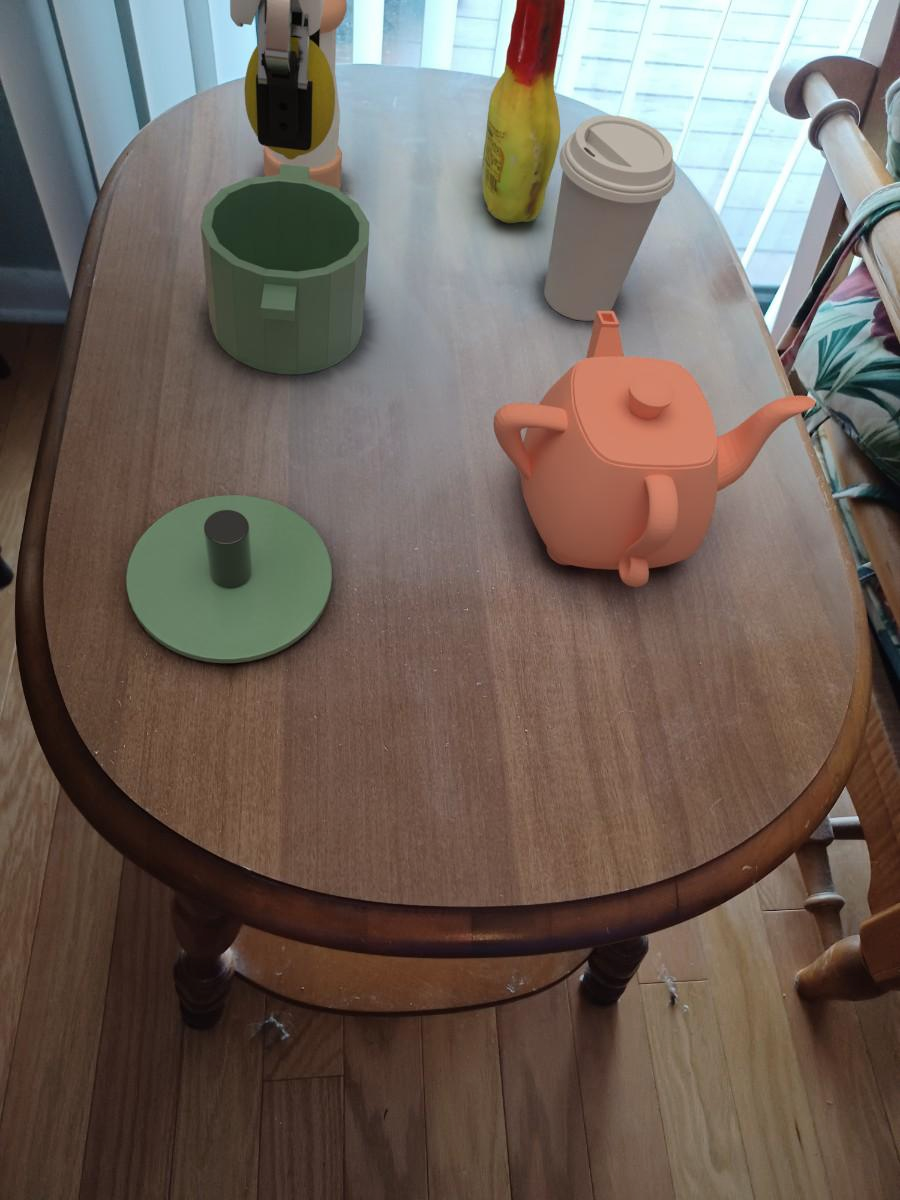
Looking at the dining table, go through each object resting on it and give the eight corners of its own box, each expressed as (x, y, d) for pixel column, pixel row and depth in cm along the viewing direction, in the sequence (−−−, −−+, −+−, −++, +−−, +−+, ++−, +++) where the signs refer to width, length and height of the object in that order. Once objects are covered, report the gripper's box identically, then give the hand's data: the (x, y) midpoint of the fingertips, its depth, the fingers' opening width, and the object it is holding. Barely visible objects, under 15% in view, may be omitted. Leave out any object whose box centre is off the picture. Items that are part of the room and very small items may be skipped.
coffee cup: (517, 264, 89) (552, 107, 77) (613, 264, 91) (662, 111, 79) (541, 333, 84) (582, 177, 72) (641, 331, 86) (699, 179, 74)
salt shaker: (253, 168, 92) (243, -53, 76) (322, 157, 95) (327, -60, 79) (282, 212, 89) (279, -9, 73) (353, 199, 91) (364, -18, 76)
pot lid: (112, 663, 61) (95, 610, 56) (145, 499, 68) (133, 439, 63) (326, 673, 62) (329, 622, 57) (335, 511, 70) (338, 454, 65)
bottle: (468, 163, 97) (502, -56, 81) (528, 167, 98) (574, -48, 82) (481, 235, 91) (522, 14, 74) (546, 239, 92) (600, 21, 75)
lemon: (235, 140, 62) (228, 10, 56) (314, 129, 64) (316, 2, 58) (265, 189, 60) (261, 59, 53) (346, 176, 62) (352, 49, 55)
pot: (198, 391, 75) (186, 292, 67) (223, 248, 85) (216, 148, 77) (358, 404, 76) (365, 309, 68) (365, 262, 86) (371, 165, 79)
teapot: (568, 407, 79) (613, 272, 68) (746, 514, 75) (824, 389, 64) (457, 520, 71) (487, 387, 60) (649, 647, 67) (720, 531, 56)
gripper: (228, -321, 49) (243, 41, 64) (179, -203, 40) (210, 190, 55) (373, -295, 50) (355, 56, 65) (359, -174, 41) (341, 205, 55)
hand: (289, 114), depth 60 cm, fingers closed on lemon, 5 cm apart
